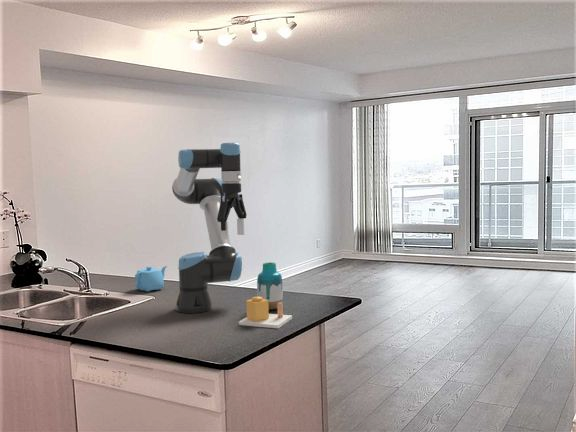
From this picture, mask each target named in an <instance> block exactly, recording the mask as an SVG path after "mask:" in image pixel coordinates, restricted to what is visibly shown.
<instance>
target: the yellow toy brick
mask: <svg viewBox="0 0 576 432" xmlns="http://www.w3.org/2000/svg"><path fill="white" fill-rule="evenodd" d="M269 311H270V310H269V308H268V300H265V299H262V297H258V296H253V297H251V299H247V300H246V317H247V318H248V319H250V320H253V321H260V320H264V319H269V314H270V313H269Z"/></svg>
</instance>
